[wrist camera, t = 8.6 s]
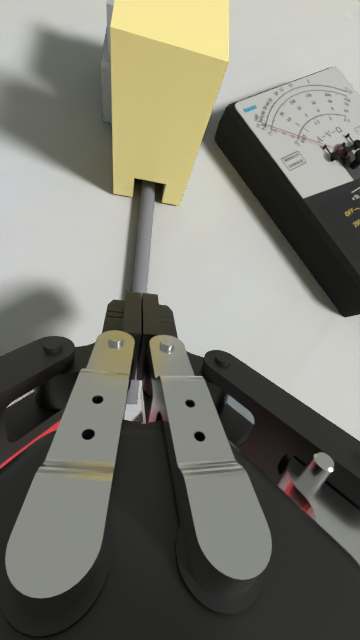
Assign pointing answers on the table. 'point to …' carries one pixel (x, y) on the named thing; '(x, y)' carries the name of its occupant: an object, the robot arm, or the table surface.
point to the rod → (142, 257)
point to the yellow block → (164, 87)
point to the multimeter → (305, 172)
